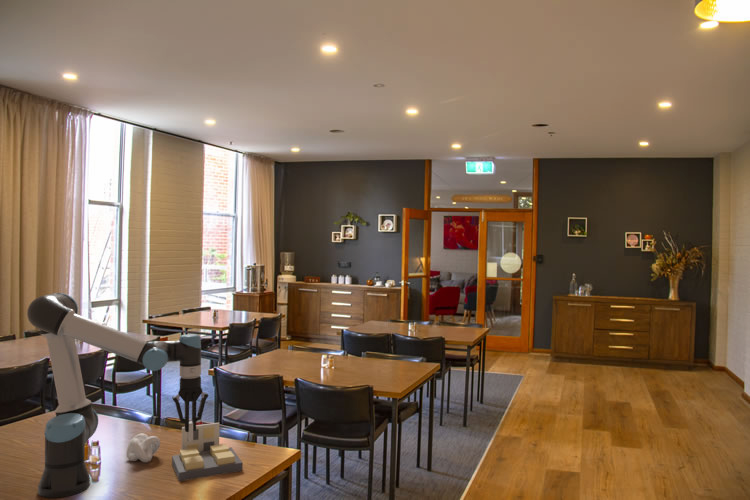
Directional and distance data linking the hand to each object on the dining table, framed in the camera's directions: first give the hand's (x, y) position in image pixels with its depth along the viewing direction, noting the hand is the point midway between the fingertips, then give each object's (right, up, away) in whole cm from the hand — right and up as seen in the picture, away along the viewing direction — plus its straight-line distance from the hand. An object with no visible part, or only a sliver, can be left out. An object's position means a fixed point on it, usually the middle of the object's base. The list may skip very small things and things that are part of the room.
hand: (190, 439), depth 210 cm
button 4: (+14, -7, -3) cm, 16 cm away
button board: (+6, -10, 0) cm, 11 cm away
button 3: (+9, -7, +5) cm, 13 cm away
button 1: (0, -7, 0) cm, 7 cm away
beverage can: (-3, -10, +16) cm, 19 cm away
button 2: (+4, -7, -8) cm, 12 cm away
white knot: (-21, -10, +6) cm, 24 cm away
